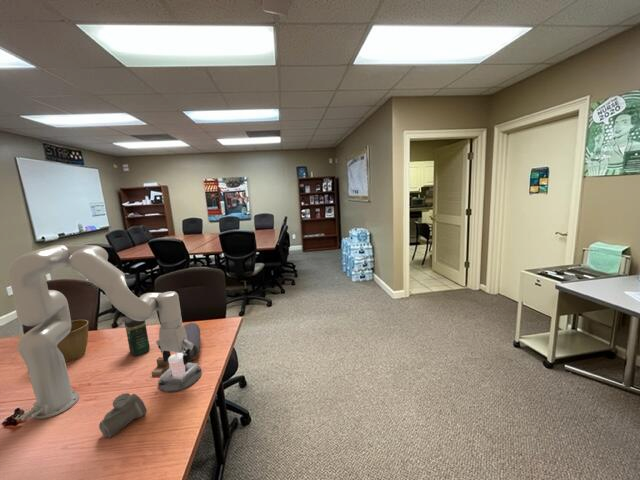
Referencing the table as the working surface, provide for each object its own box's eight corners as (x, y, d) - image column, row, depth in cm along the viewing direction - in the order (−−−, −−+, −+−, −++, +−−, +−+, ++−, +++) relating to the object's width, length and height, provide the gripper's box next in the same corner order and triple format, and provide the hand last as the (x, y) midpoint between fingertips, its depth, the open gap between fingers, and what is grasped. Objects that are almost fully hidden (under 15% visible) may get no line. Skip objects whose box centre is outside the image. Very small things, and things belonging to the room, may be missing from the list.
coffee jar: (152, 350, 138) (146, 315, 135) (134, 358, 132) (127, 322, 129) (145, 344, 144) (139, 310, 141) (128, 351, 139) (121, 316, 135)
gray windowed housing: (183, 394, 106) (181, 385, 105) (149, 389, 110) (147, 380, 110) (209, 368, 121) (208, 360, 121) (178, 364, 125) (177, 356, 125)
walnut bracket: (161, 376, 118) (159, 365, 117) (152, 376, 118) (150, 365, 118) (169, 367, 124) (167, 357, 123) (161, 367, 124) (159, 357, 123)
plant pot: (46, 364, 131) (38, 332, 128) (81, 346, 145) (74, 318, 142) (68, 368, 127) (60, 336, 124) (101, 350, 141) (95, 321, 138)
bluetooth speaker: (201, 360, 128) (198, 340, 126) (178, 366, 124) (175, 345, 123) (202, 337, 149) (199, 319, 147) (183, 341, 145) (180, 323, 143)
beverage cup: (190, 374, 117) (186, 343, 114) (177, 383, 111) (171, 351, 109) (181, 370, 120) (177, 340, 117) (168, 378, 115) (162, 347, 112)
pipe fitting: (137, 406, 101) (130, 384, 98) (150, 415, 97) (142, 393, 94) (99, 434, 91) (90, 411, 88) (111, 446, 87) (102, 422, 84)
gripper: (146, 325, 110) (152, 364, 113) (183, 329, 105) (188, 369, 109) (161, 316, 117) (166, 353, 120) (196, 319, 113) (201, 358, 116)
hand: (177, 361), depth 114 cm, fingers open, 9 cm apart
